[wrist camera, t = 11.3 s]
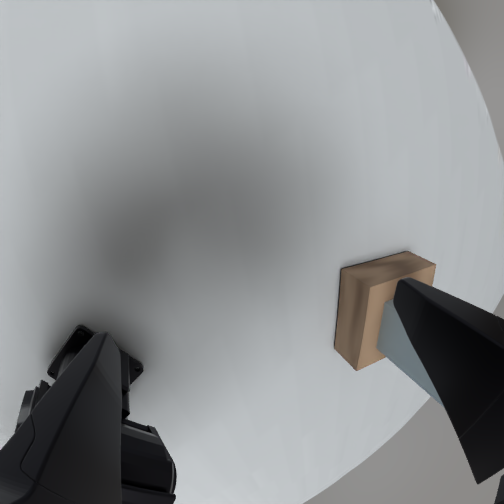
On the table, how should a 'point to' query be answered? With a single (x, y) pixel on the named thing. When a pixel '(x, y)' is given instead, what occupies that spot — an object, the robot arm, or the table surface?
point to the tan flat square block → (372, 303)
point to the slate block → (402, 349)
